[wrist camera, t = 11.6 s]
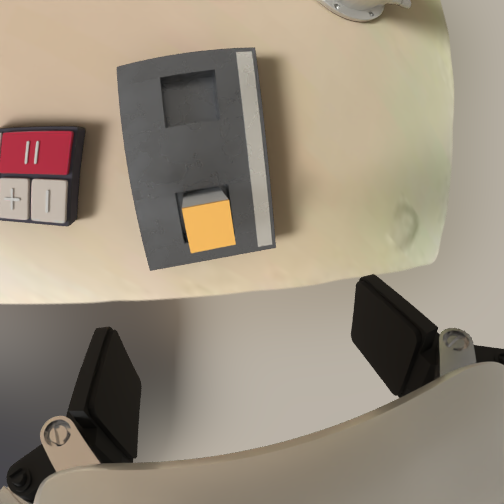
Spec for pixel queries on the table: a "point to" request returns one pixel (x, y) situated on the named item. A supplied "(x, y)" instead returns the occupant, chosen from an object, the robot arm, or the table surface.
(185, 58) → the port panel
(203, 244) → the plug
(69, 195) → the calculator
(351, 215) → the table surface
